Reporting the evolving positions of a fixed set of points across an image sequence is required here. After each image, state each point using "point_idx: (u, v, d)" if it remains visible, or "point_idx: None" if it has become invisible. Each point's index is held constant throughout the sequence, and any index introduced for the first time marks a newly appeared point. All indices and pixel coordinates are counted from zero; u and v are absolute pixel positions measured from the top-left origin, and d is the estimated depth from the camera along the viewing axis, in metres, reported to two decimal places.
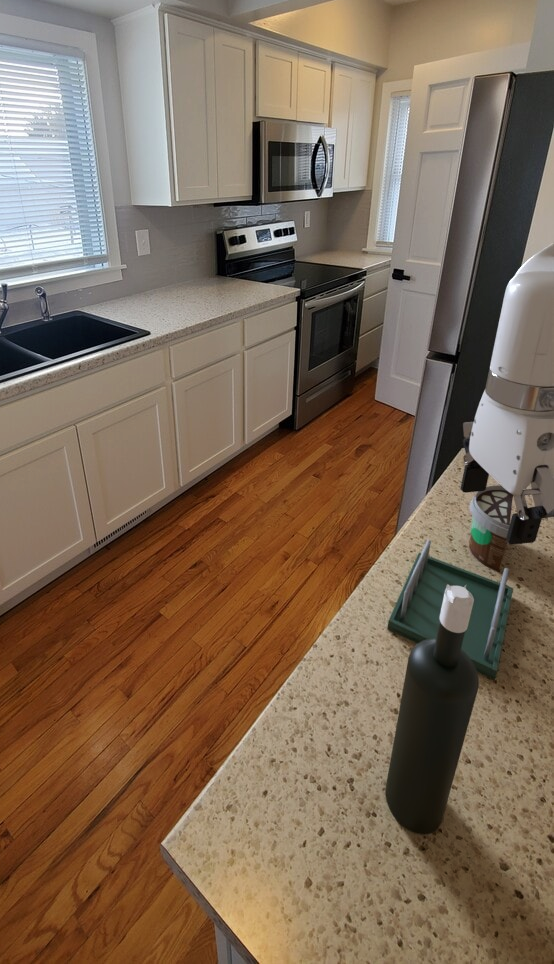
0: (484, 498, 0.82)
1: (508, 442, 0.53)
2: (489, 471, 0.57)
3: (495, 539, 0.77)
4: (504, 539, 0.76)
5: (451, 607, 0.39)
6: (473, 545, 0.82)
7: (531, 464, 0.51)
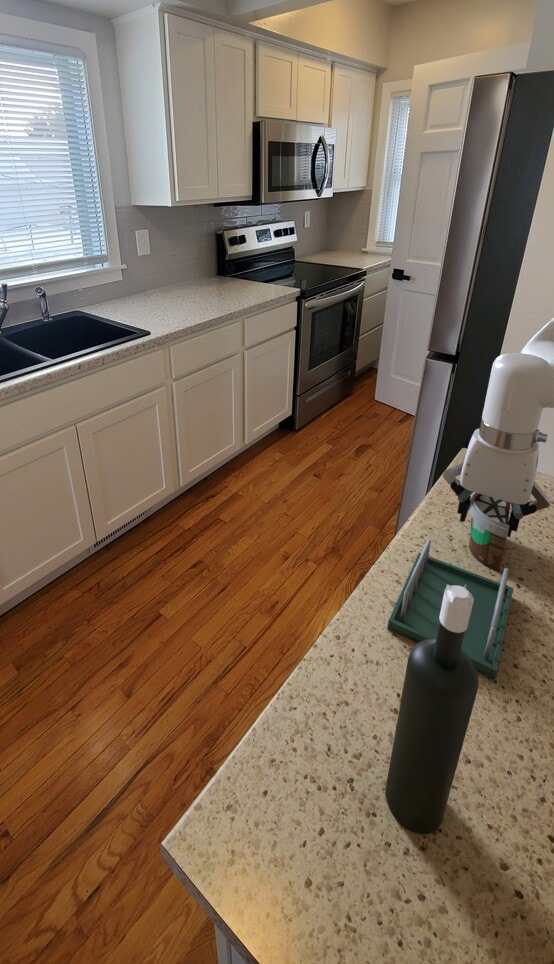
0: (483, 498, 0.82)
1: (515, 472, 0.74)
2: (493, 495, 0.78)
3: (494, 538, 0.77)
4: (503, 539, 0.76)
5: (451, 607, 0.39)
6: (473, 545, 0.82)
7: (533, 480, 0.74)
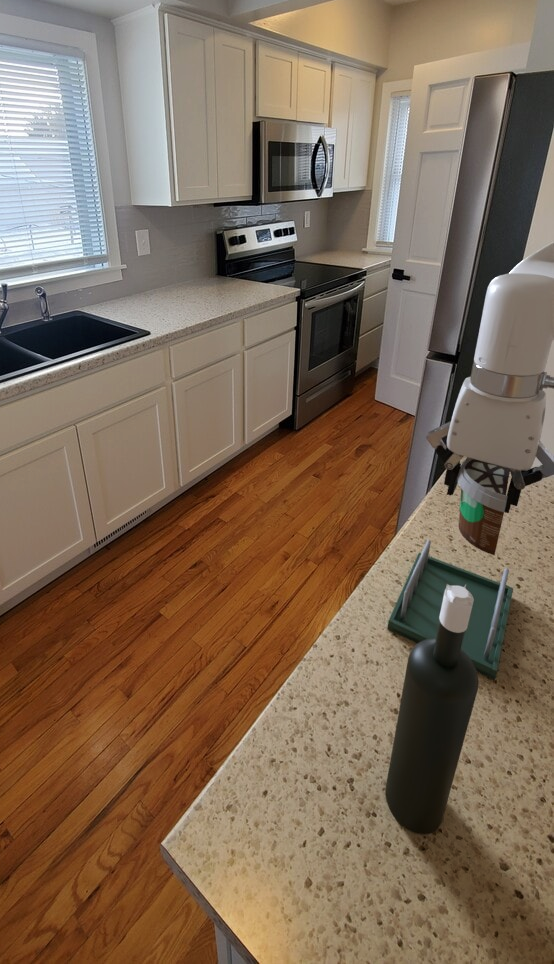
0: (475, 465, 0.66)
1: (516, 428, 0.58)
2: (487, 459, 0.62)
3: (489, 513, 0.61)
4: (499, 513, 0.60)
5: (451, 607, 0.39)
6: (462, 524, 0.66)
7: (538, 439, 0.58)
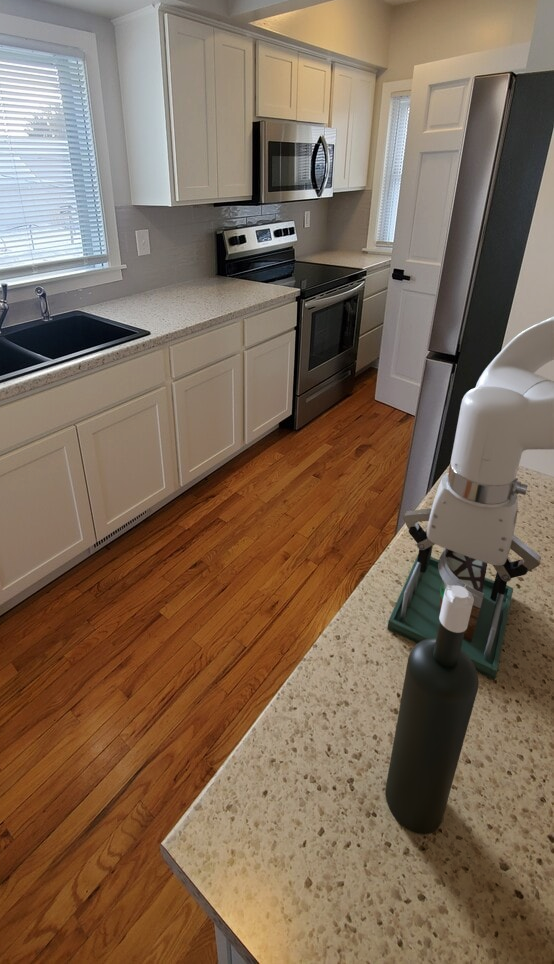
0: (456, 553, 0.70)
1: (490, 529, 0.62)
2: (464, 553, 0.65)
3: None
4: (476, 607, 0.64)
5: (451, 607, 0.39)
6: None
7: (511, 539, 0.62)
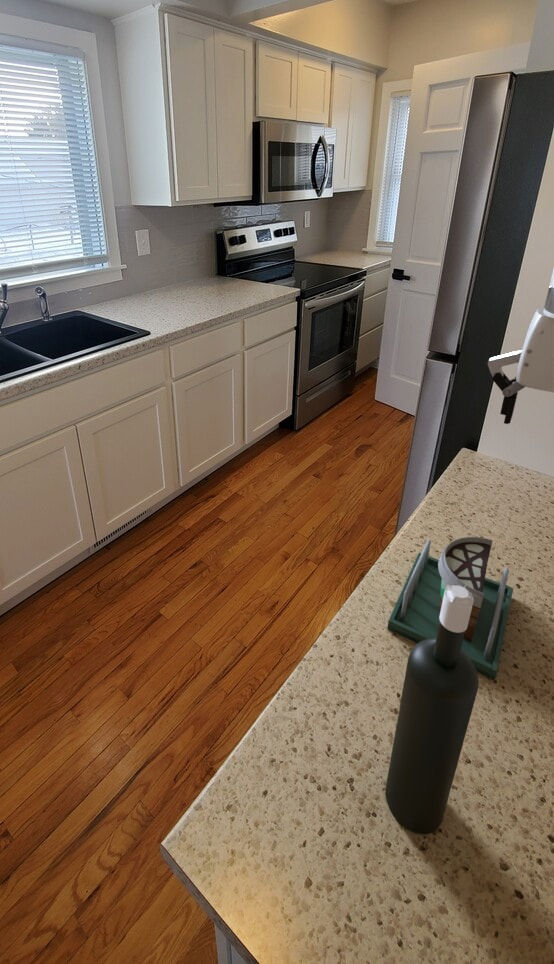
0: (456, 553, 0.70)
1: None
2: None
3: None
4: (476, 607, 0.64)
5: (451, 607, 0.39)
6: None
7: None
